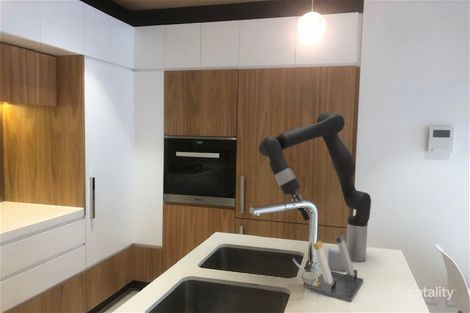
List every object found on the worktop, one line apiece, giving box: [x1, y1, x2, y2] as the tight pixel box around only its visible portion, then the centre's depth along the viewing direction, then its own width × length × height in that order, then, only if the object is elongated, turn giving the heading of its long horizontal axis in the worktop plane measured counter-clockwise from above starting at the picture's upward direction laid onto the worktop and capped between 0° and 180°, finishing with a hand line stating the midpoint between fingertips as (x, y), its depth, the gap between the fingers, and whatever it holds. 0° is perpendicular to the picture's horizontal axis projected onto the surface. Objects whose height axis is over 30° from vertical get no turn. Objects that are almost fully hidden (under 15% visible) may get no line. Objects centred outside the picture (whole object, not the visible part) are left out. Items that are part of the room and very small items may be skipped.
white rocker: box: [313, 240, 334, 286], centre depth 138 cm, size 5×2×18 cm, turn 148°
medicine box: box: [327, 247, 346, 272], centre depth 160 cm, size 8×4×9 cm, turn 74°
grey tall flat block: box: [335, 234, 356, 277], centre depth 147 cm, size 5×2×18 cm, turn 148°
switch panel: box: [308, 268, 364, 303], centre depth 143 cm, size 20×16×4 cm
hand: (307, 219), depth 143 cm, fingers closed
